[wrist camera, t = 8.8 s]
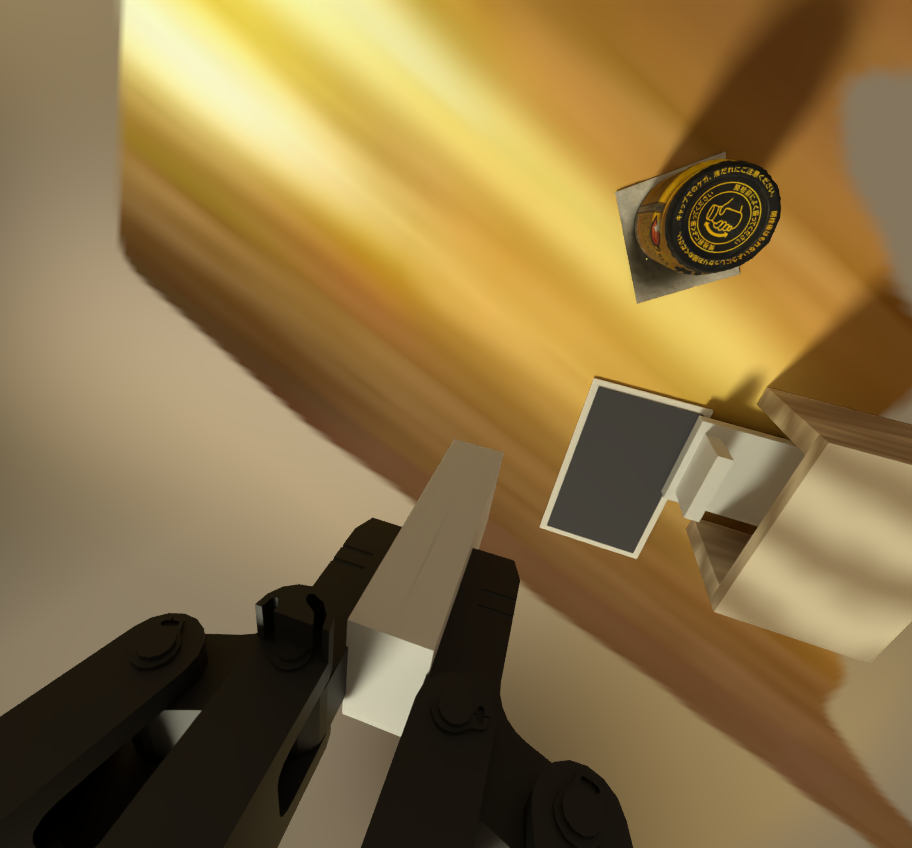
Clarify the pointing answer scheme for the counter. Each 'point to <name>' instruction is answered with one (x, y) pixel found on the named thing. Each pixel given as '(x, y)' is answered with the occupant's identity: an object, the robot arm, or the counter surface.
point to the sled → (730, 471)
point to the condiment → (696, 224)
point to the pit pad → (619, 466)
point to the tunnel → (823, 535)
